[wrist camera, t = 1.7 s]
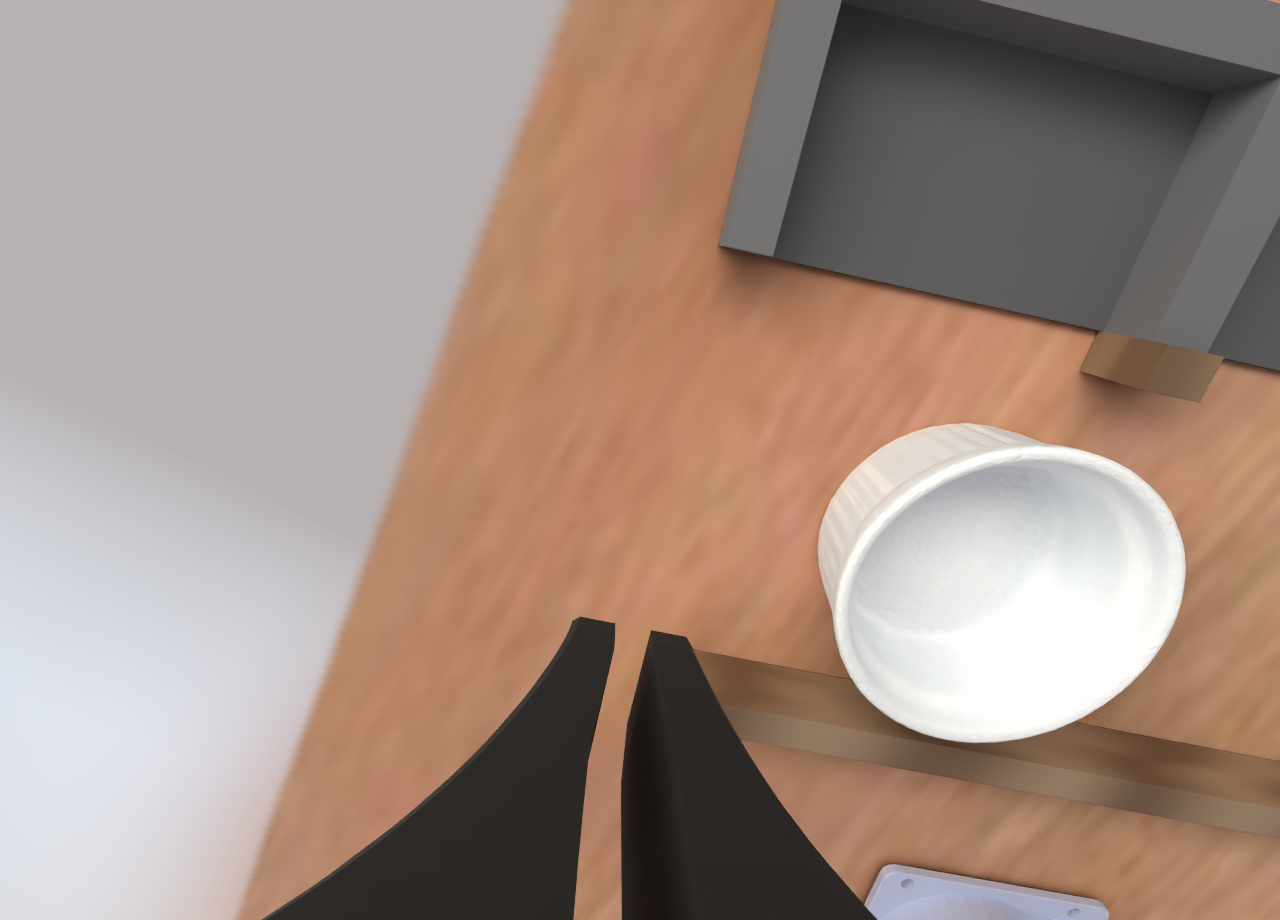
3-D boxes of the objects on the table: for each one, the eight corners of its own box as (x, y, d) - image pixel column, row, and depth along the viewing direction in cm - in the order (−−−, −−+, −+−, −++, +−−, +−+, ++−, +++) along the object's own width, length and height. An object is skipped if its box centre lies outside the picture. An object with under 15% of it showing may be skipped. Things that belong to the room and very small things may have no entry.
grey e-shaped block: (1694, 156, 16) (1836, 144, 14) (1503, 420, 18) (1602, 441, 16) (792, -69, 15) (813, -115, 13) (717, 245, 17) (725, 246, 15)
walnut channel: (1842, 496, 19) (2098, 551, 15) (1517, 834, 23) (1659, 931, 20) (760, 255, 17) (785, 257, 14) (651, 670, 22) (650, 746, 19)
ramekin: (767, 458, 19) (797, 516, 15) (1059, 362, 18) (1177, 397, 14) (837, 677, 22) (878, 777, 18) (1094, 606, 21) (1202, 696, 17)
